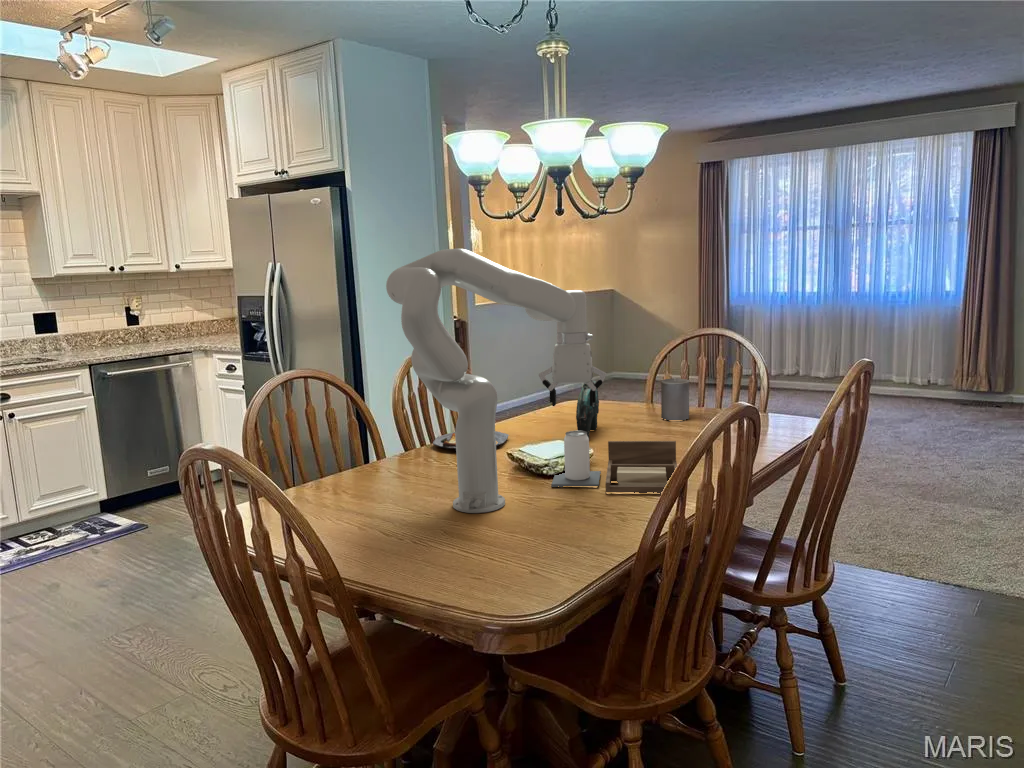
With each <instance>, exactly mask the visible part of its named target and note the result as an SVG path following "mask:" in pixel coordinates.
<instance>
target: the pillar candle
mask: <svg viewBox="0 0 1024 768" xmlns="http://www.w3.org/2000/svg"><path fill="white" fill-rule="evenodd" d="M660 386H661V387H660V388H661V389H660V391H661V393H660V397H661V398H660V399H661V400H660V403H661V404H660V405H661V406H660V409H661V410H660V411H661V414H660V415H661V416H660V417H661V418H663V419H666V420H686V419H688V420H690V380H689V379H684V378H679V377H678V378H676V377H675V376H674V377H673V378H666V379H662V380H661V381H660ZM686 421H687V420H686Z"/></svg>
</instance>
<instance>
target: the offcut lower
mask: <svg viewBox="0 0 1024 768" xmlns="http://www.w3.org/2000/svg"><path fill="white" fill-rule="evenodd" d="M666 484H667V477H666V483H635V482H618V484H617V485H621V486H665V485H666ZM667 485H668V484H667Z"/></svg>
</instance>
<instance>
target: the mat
mask: <svg viewBox="0 0 1024 768" xmlns="http://www.w3.org/2000/svg"><path fill="white" fill-rule="evenodd" d="M600 474H601V475H602V473H601V470H590V477H589V478H588V479H586V480H582V481H572V480H568V479H567V478H566V477H565V473H562V474H559V475H555V474H554V477H553V479H552V481H551V487H558V486H559V487H563V486H599V487H600V483H599V480H600V481H601V477H600Z"/></svg>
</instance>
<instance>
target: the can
mask: <svg viewBox="0 0 1024 768" xmlns="http://www.w3.org/2000/svg"><path fill="white" fill-rule="evenodd" d="M563 445H564V446H563V447H564V448H563V450H564V454H563V455H564V471H565V477H566V478H567V479H568V480H572V481H582V480H586V479H588V478H589V477H590V471H591V469H590V467H591V465H590V462H591V461H590V459H591V458H590V437H589V438H588V436H587V432H585V431H578V430H569V431H566V432H565V435H564V439H563Z"/></svg>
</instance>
